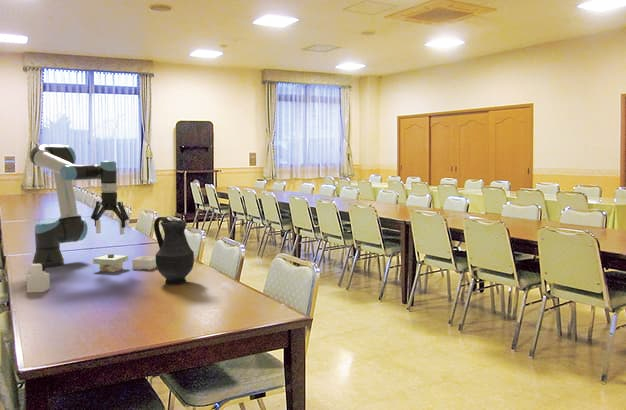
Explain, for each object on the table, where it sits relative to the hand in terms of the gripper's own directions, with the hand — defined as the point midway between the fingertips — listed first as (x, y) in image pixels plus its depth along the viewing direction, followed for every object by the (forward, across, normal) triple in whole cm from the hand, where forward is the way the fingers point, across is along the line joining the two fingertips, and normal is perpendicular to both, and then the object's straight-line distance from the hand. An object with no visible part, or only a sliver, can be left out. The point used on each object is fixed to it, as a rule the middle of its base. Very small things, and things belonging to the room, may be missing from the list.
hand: (110, 233), depth 294 cm
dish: (+18, +14, +10) cm, 25 cm away
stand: (+18, 0, 0) cm, 19 cm away
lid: (+14, 0, 0) cm, 15 cm away
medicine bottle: (+19, -4, -47) cm, 51 cm away
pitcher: (+19, +43, -16) cm, 50 cm away
